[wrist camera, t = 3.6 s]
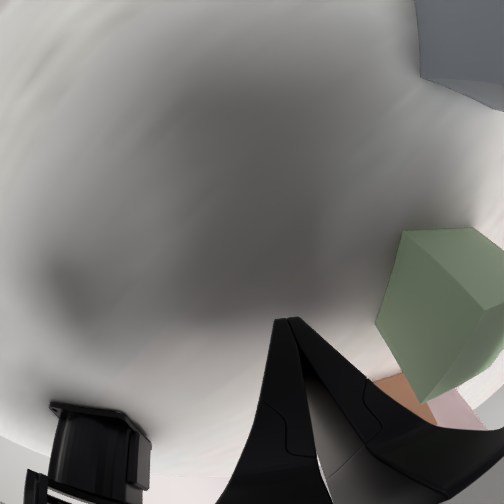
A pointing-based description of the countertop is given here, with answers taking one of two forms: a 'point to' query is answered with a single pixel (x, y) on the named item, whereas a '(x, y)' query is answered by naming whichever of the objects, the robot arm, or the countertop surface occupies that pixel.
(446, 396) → the smoothie
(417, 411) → the terracotta block
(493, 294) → the green block
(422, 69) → the slate block
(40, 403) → the countertop surface
